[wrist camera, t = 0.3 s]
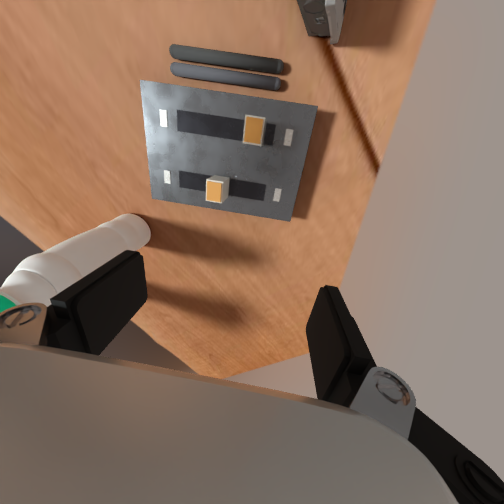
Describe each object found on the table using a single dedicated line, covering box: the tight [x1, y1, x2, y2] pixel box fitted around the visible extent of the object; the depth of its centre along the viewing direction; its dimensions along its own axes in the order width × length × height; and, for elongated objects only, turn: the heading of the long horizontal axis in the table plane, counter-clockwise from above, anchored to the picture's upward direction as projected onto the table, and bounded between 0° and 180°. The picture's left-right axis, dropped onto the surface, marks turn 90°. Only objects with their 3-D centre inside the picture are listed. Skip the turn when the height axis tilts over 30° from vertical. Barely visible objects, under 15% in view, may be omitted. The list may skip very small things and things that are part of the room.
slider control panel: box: [140, 80, 318, 222], centre depth 30 cm, size 16×24×8 cm, turn 82°
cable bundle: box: [169, 44, 284, 90], centre depth 27 cm, size 3×15×1 cm, turn 82°
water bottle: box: [0, 214, 151, 313], centre depth 30 cm, size 7×7×25 cm
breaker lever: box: [206, 175, 230, 203], centre depth 30 cm, size 3×2×5 cm
